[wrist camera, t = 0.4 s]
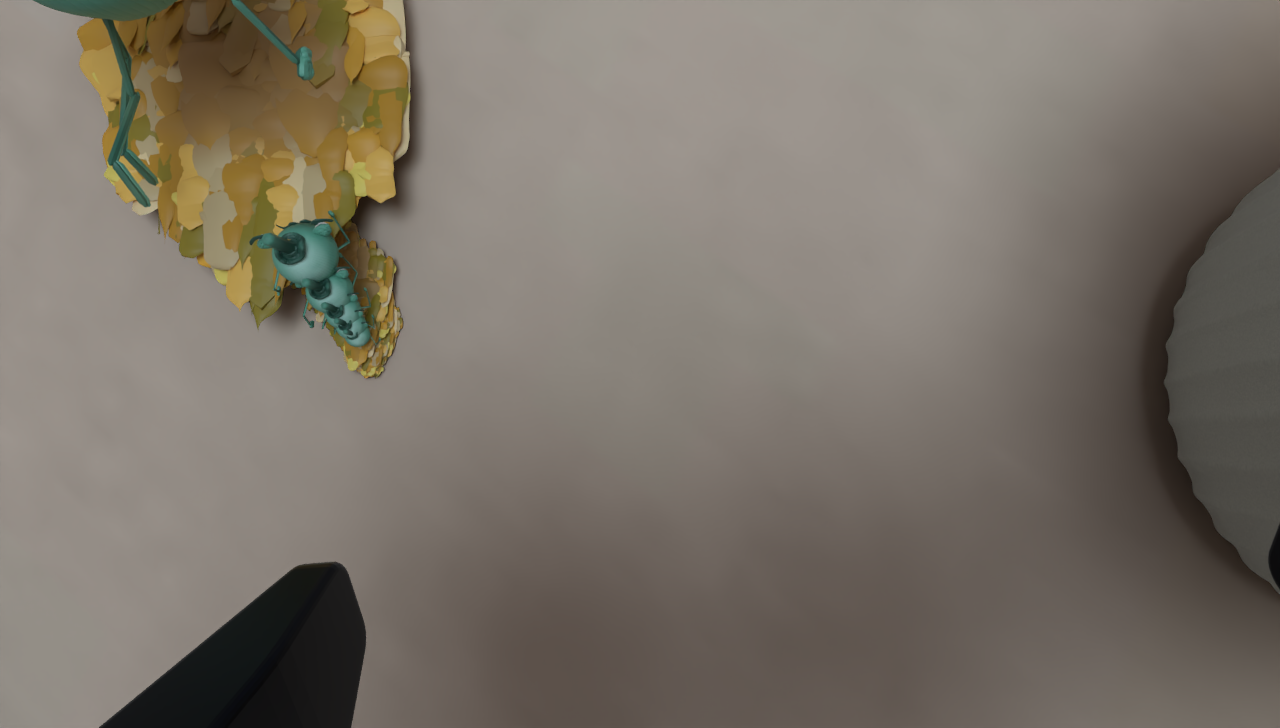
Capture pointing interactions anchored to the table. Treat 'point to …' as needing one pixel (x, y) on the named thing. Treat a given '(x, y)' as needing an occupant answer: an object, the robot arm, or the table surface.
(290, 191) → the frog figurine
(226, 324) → the table surface
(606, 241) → the table surface
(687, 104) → the table surface
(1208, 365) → the canister
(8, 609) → the table surface
